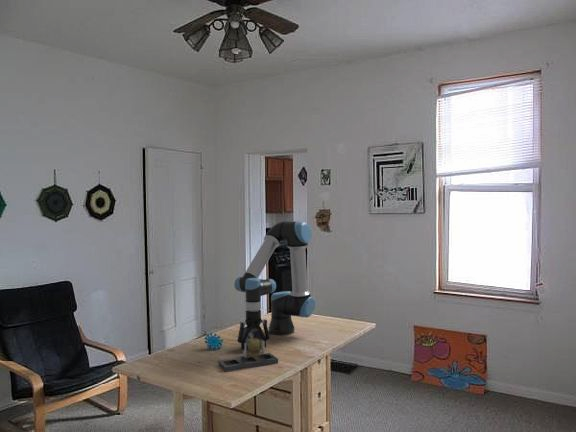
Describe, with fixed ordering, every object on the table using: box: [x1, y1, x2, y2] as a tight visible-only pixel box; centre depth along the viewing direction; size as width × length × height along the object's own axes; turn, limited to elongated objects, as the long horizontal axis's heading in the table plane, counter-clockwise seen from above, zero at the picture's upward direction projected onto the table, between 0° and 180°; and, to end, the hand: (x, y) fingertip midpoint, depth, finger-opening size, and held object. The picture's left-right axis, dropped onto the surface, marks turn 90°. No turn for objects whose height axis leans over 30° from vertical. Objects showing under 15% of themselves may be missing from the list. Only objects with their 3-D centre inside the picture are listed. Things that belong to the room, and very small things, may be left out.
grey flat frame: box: [218, 352, 279, 373], centre depth 230 cm, size 26×10×2 cm, turn 115°
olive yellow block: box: [247, 338, 261, 356], centre depth 242 cm, size 4×4×8 cm
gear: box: [204, 332, 225, 351], centre depth 256 cm, size 11×6×10 cm
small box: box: [242, 326, 263, 351], centre depth 254 cm, size 11×6×10 cm, turn 47°
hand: (253, 354), depth 242 cm, fingers open, 9 cm apart
